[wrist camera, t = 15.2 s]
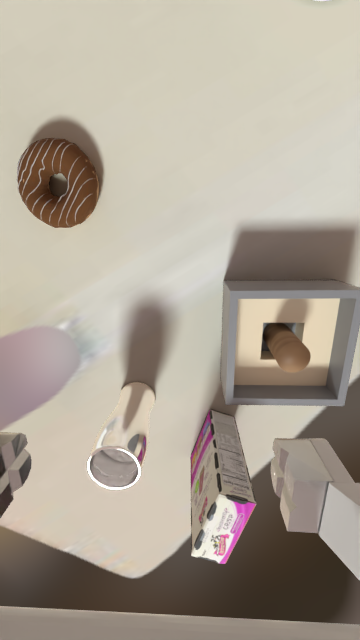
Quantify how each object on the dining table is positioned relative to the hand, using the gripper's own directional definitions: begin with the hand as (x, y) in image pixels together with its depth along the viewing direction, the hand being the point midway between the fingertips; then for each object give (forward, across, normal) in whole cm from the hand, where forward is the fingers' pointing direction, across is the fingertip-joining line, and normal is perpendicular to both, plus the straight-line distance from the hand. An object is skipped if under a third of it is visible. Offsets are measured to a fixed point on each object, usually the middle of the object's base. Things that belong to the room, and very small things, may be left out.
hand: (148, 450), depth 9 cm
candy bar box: (+33, -5, +28) cm, 44 cm away
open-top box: (+33, -14, +8) cm, 37 cm away
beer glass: (+33, +8, +20) cm, 40 cm away
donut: (+34, +16, -13) cm, 39 cm away
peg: (+32, -14, +8) cm, 36 cm away
